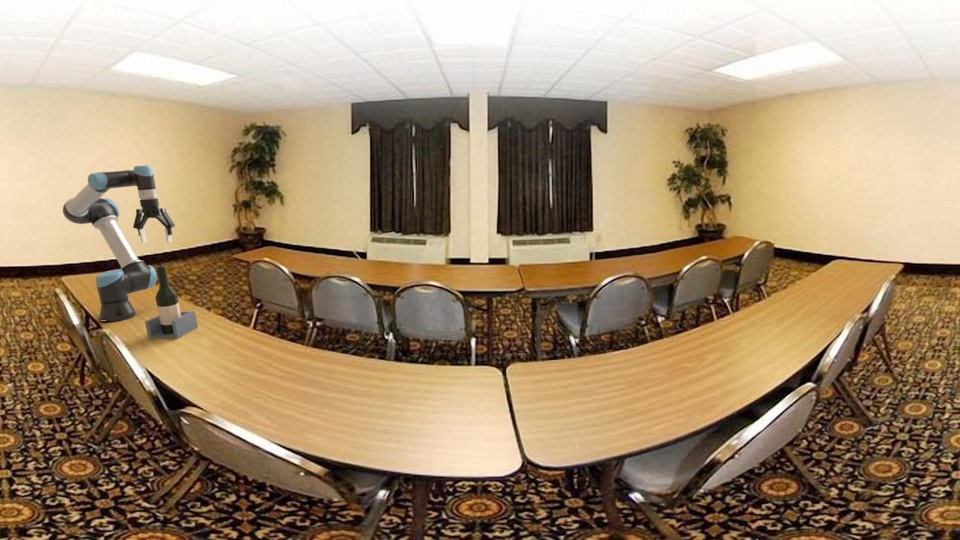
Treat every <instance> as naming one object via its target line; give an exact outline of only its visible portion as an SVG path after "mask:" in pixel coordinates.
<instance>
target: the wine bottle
mask: <svg viewBox="0 0 960 540" xmlns="http://www.w3.org/2000/svg"><path fill="white" fill-rule="evenodd" d="M155 270H156V275H157V279H158V284H159V289H158V290H157V292H156V295H155V301H156V306H157V311H158V315H159V317H160V322H161V327H162V332H163V333H164V334H173V333H174V331H173V326H172V321H173V320H175V319H177V318H179V317H181V312H180V311H181V308H180V303H179V297H178V293H177V292H176V291H175V290H174V289H173V288H172V287H171V286H170V285H169V284H170V283H169V280H168V274H167V269H166V266H165V265H164V264H159V265H157V266H156V269H155Z"/></svg>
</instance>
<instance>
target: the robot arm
mask: <svg viewBox="0 0 960 540" xmlns="http://www.w3.org/2000/svg"><path fill="white" fill-rule="evenodd" d="M127 187H136V188H137V193H138V198H139V199H140V200H139V203H140V208H136V210H135V211H136V213H135V214H136V215H135V218H134V222H133V226H132V228H133V229H136V230H137V232H138V236H139V237H140V241H141V244H144V243H148V240H147V235H146V231H145V228H144V227H145V225H146V223H147V221H148V219H156V220H158V221H159V223H160V224H162V226H164V232H165V233H164V234H165V237H166V238H165V239H166V242H167V243H171V242H173V238H172V235H173V231H172V228H174V227H175V226H176V225H175V223H174V221H173V220H172V218H171V217H170V215H169V214H168V213H167V209H166V208H165V207H161V208H160V206H159V205H160V203H159V198H158V191H157V188H156V182H155V175H154V171H153V168H152V166H151V165H149V164H148V165H147V164H146V165H135V166H134V167H133V170H132V169H125V170H118V171H102V172H99V171H98V172H93V173H90V174H89V175H88V177H87V184H86V185H85V186H84V187H83V188H82V189H81V190H80V191H79V192H78V193H77V194H76V195H75V196H74V197H73V198H70V199H68V200H66V202H65V203H64V204H63V206H62V214H63V215H64V218H66V219H67V220H68V221H70V222H71V223H73V224H78V225H84V224H85V225H86V224H92V226H93V227H94V229H97V230H99V232H100V234H101V236H102V237H103V239H104V240H105V242H106V244H107V245H108V246H109V247H108V248H109V249H110V250H111V252H112V254H113V255H114V257H115V259H116V261H117V262H118V265H119V266H120V268H119V269H118V268H116V269H112V270H106V271H104V272H101V273H99V274H98V275H97V276H96V277H95V286H96V288H97V294H98V297H99V301H100V310H99V311H100V312H99V313H100V314H99V320H100V319H101V320H106V321H114V322H118V321H117V320H120V321H124V320H128V319H130V317H131V318H133V317H135V316H136V315H137V314H136V309H135V308H134V307H133V305H132V302H131V301H130V300H129V294H133V293H137V292H140V291H145V290H148V289H151V288H153V287H154V286H155V285H156V282H157V271H156V269H155V268H154V267H153V266H152V265H150V264H148V265H147V264H146V263H145V261H144V260H141V259H139V257H138V256H137V254H136V253H135V251H134V249H133V248H132V246H131V244H130V242H129V240H128V238H127V236H125V234H124V232H123V231H122V229H121V227H120V224H118V221H119V216H120V211H119V207H118V206H117V204H116V202H114V200H112V199H111V198H106V197H105V198H101V197H103V195H105V194H106V193H107V192H108V191H109V190H110V189H117V188H119V189H120V188H127Z"/></svg>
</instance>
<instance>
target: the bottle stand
mask: <svg viewBox="0 0 960 540" xmlns="http://www.w3.org/2000/svg"><path fill="white" fill-rule="evenodd" d="M180 312H181V317H179V318H177V319H175V320H173V321H172V326H173V331H174V333H173V334H164V333H163V332H162V327H161V322H160V317H159V314H158V315H156V316H154V317H152V318H150V319H147V320H145V321H144V324H145V328H146V333H147V338H148V339H149V340H157V339H158V340H161V339H163V340H165V339H166V340H168V339H171V338H178V339H180V338H182V337H183V336H182V335H184V334H185V335H187V334H189V333H190V332H189V331H191V330H193V329H195V328H196V329H198V328H197V327H199V326H198V321H197V316H196V311H195V310H180ZM196 329H195V330H196ZM193 331H194V330H193ZM188 332H189V333H188ZM191 332H192V331H191ZM186 333H187V334H186ZM185 335H184V336H185ZM181 336H182V337H181ZM179 337H180V338H179ZM171 340H172V339H171Z"/></svg>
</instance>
